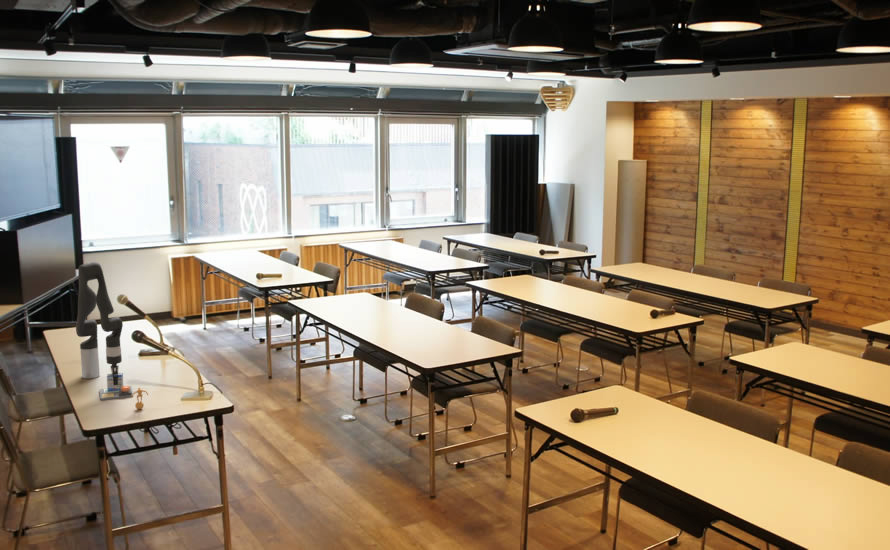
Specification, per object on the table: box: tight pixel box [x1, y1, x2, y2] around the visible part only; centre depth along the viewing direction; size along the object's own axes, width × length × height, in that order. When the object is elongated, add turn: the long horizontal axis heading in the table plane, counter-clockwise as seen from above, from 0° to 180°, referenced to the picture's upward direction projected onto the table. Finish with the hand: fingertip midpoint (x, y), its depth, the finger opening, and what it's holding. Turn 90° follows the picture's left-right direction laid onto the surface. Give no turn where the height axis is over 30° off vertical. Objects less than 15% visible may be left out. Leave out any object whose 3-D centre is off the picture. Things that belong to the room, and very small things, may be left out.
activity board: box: [99, 385, 134, 401], centre depth 420 cm, size 17×16×2 cm
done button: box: [121, 385, 131, 392], centre depth 417 cm, size 4×4×2 cm
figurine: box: [130, 387, 149, 410], centre depth 395 cm, size 8×6×12 cm
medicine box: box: [106, 372, 125, 391], centre depth 423 cm, size 8×4×9 cm, turn 109°
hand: (115, 382), depth 423 cm, fingers open, 8 cm apart
